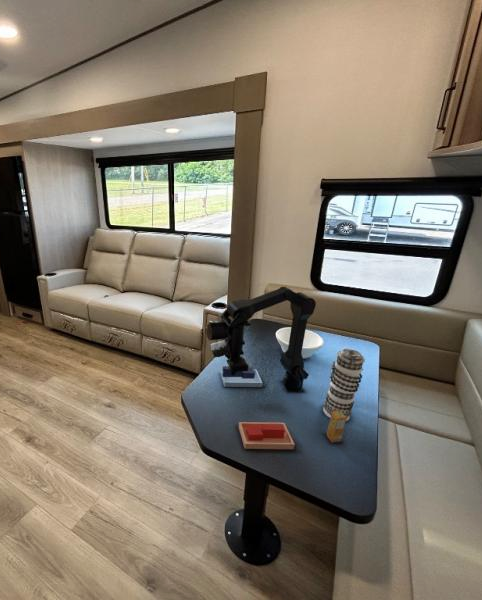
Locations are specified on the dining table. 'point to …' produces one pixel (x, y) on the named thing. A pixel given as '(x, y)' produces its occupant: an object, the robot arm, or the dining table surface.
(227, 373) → the dark blue block
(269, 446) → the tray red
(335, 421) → the supplement box
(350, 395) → the leaning tower model
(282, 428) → the red stepped block
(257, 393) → the dining table surface
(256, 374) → the tray blue
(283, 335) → the bowl
